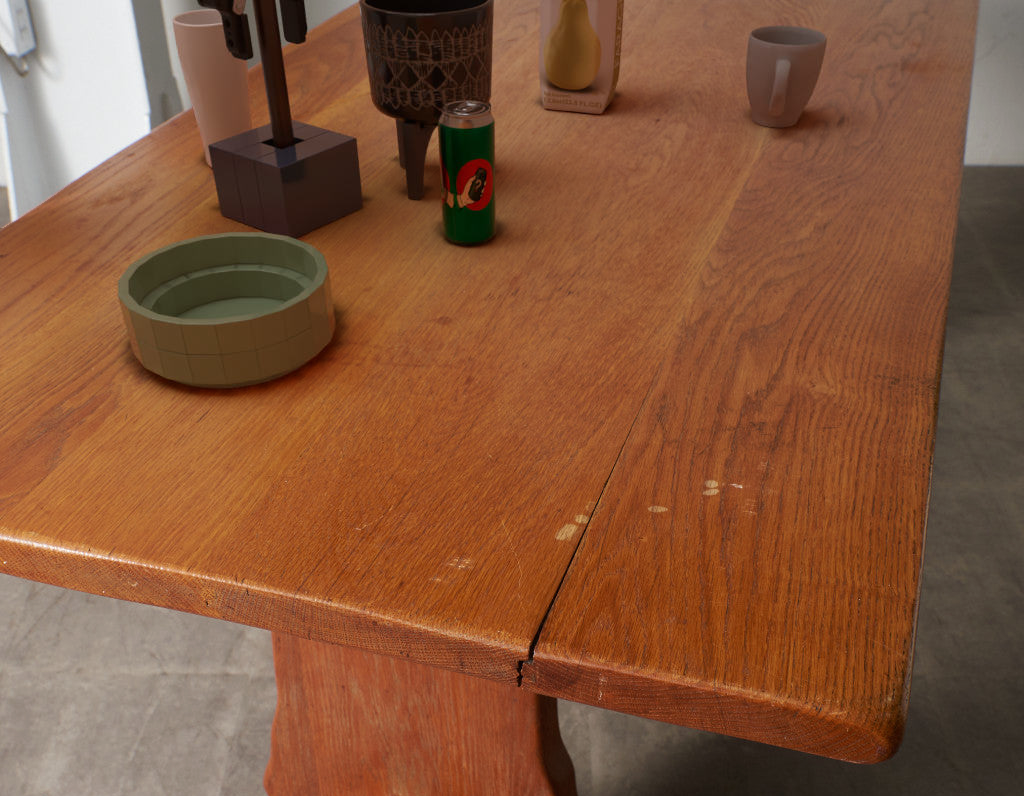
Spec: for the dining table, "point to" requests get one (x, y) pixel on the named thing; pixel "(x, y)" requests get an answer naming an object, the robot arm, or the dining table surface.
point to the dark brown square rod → (274, 72)
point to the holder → (287, 179)
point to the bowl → (228, 308)
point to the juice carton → (579, 53)
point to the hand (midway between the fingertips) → (269, 49)
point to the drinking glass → (212, 77)
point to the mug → (782, 72)
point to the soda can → (467, 172)
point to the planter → (425, 67)
